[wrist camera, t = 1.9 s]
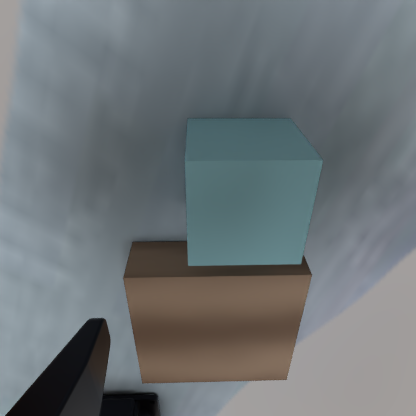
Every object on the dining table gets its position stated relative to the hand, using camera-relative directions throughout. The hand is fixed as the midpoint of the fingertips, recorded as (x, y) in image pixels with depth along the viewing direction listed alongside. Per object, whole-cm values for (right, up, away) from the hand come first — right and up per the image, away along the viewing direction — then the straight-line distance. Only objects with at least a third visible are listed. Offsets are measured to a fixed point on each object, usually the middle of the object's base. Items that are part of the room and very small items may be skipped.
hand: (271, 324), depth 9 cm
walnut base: (-1, -3, +14) cm, 14 cm away
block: (0, +5, +8) cm, 10 cm away
